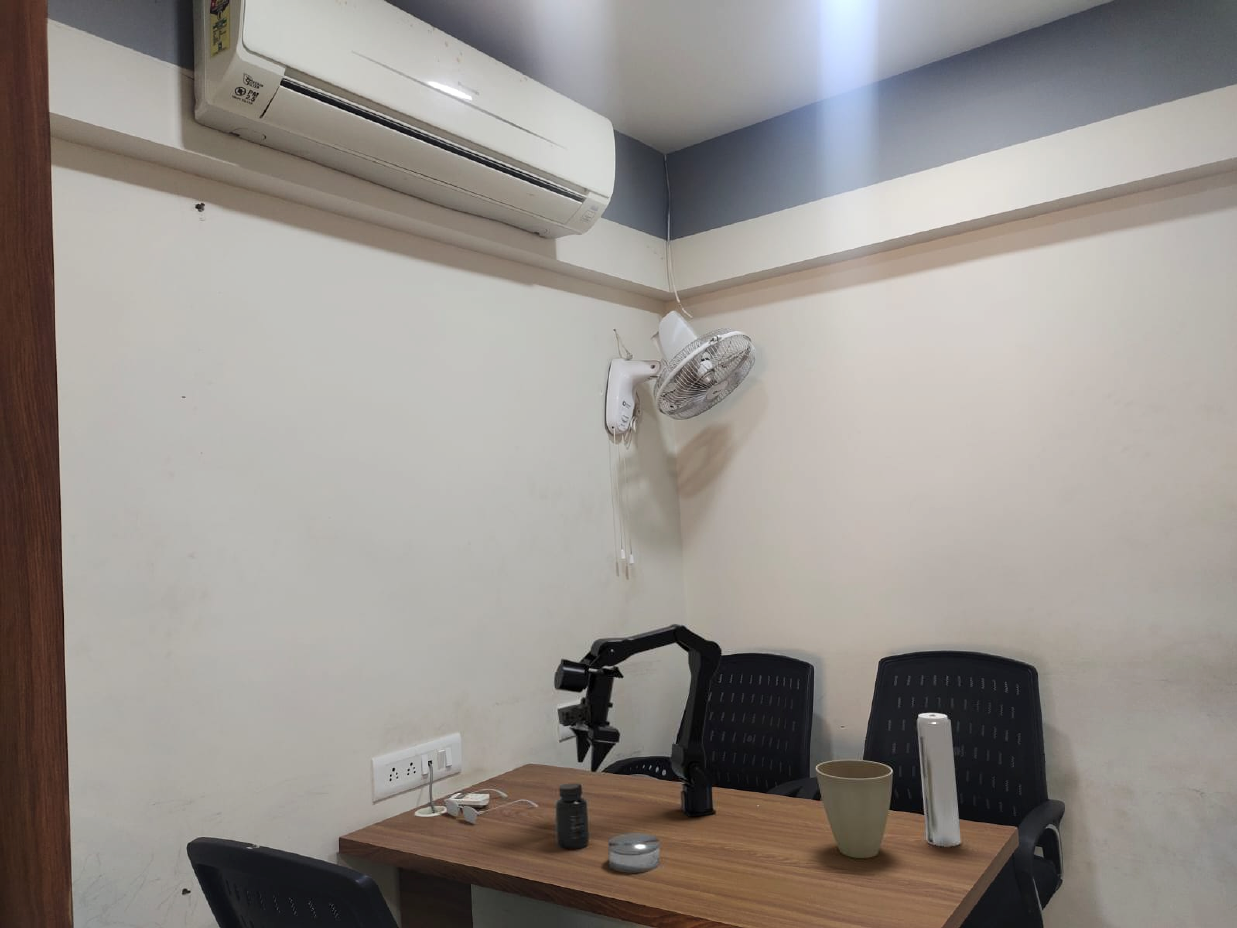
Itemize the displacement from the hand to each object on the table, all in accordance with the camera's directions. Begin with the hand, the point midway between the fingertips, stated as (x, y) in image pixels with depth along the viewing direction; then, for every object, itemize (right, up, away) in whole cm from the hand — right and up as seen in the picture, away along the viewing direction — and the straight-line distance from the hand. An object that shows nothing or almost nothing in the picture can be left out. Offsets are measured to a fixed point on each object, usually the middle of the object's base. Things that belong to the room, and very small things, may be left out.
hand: (586, 766), depth 184 cm
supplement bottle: (-2, -13, -9) cm, 16 cm away
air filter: (+73, -9, -17) cm, 75 cm away
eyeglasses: (-24, -17, +17) cm, 34 cm away
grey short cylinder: (+10, -11, -21) cm, 26 cm away
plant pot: (+55, -9, -20) cm, 59 cm away
